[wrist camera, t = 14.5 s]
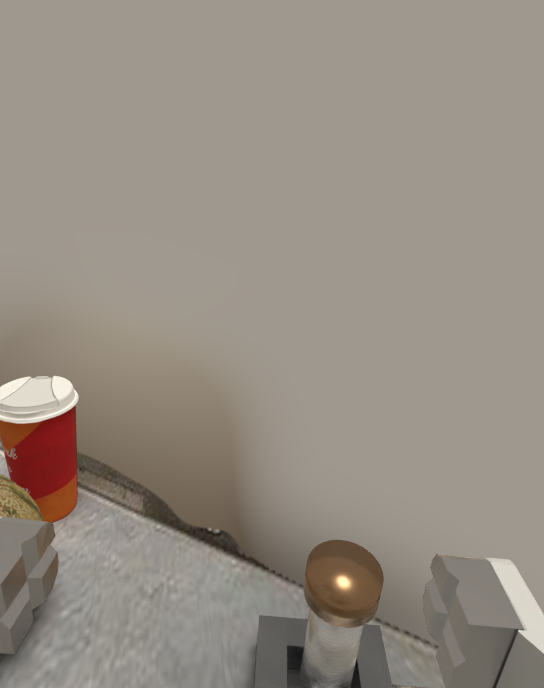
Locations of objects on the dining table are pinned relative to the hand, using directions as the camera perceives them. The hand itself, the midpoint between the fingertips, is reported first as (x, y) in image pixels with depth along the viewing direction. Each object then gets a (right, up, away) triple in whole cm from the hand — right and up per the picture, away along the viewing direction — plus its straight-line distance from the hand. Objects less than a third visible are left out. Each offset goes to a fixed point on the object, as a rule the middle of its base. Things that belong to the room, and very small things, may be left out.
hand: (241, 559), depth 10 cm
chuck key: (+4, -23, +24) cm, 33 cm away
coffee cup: (-25, -14, +42) cm, 51 cm away
